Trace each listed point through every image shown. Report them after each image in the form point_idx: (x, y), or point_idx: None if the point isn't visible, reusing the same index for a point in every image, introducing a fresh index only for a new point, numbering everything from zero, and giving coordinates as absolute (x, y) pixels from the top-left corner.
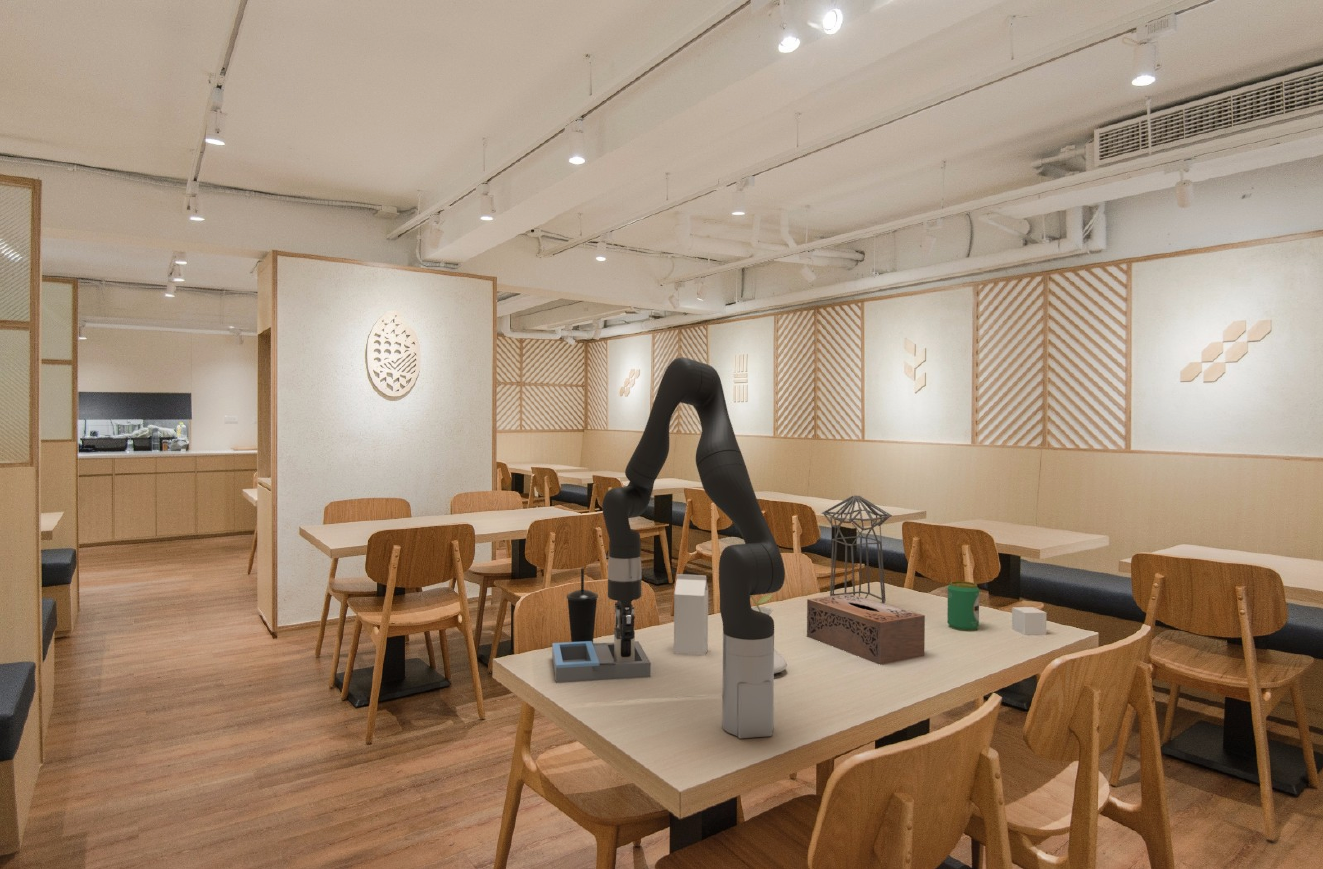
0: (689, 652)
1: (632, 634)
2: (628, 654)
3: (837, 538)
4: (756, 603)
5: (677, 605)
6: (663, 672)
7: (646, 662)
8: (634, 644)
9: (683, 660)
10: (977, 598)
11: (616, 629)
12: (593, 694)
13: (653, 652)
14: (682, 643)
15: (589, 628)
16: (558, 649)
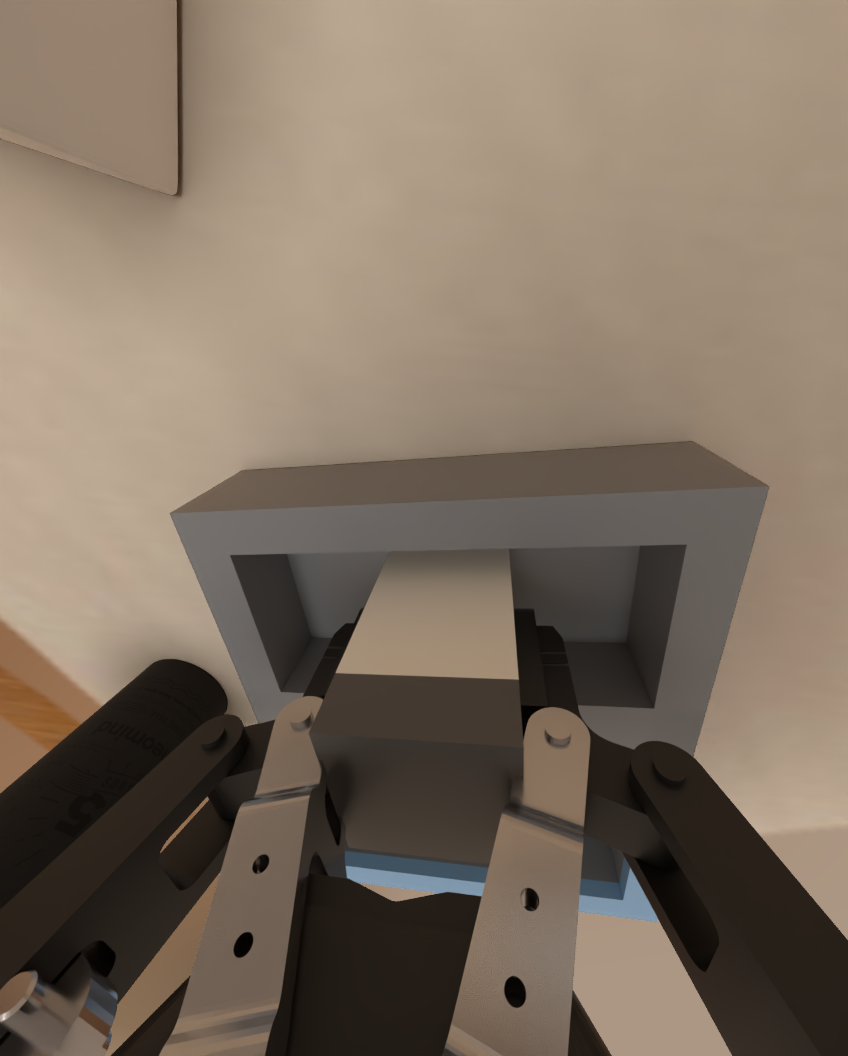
0: None
1: (737, 820)
2: (553, 633)
3: None
4: None
5: None
6: (525, 326)
7: (748, 519)
8: (514, 635)
9: (240, 100)
10: None
11: (414, 848)
12: (777, 721)
13: (110, 361)
14: (65, 25)
15: (126, 791)
16: (411, 878)
